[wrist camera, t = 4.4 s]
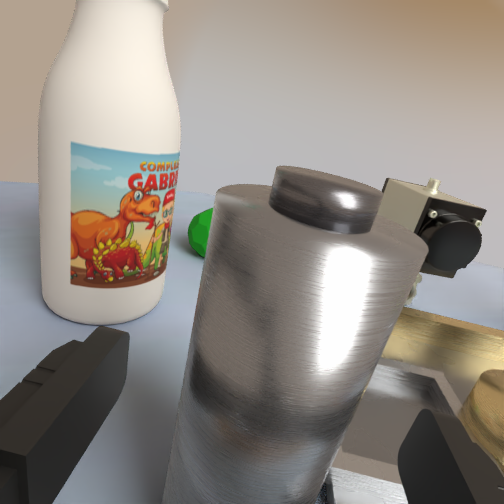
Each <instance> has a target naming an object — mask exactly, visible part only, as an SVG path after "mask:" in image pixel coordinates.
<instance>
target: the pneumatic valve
mask: <svg viewBox="0 0 504 504" xmlns="http://www.w3.org/2000/svg"><path fill="white" fill-rule="evenodd" d="M440 183H441V181H439V180H436V179H432V178H431V179H430V180H429V182H428V185H427V186H422V185H418V184H413V183H408V182H404V181H399V180H395V179H390V178H386V181H385V184H384V186H383V189H382V193H384V196H383V199H382V201H381V204H380V207H379V209H378V212H377V214H378V215H380V216H383V217H385V218H387V219H389V220H392V221H394V222H396V223H398V224H400V225H402V226H403V227H405V228H407V229H409V230H410V231H412V232H413V233H415V234H416V235H417V236H419V237H420V238H421V239H422V240H423V241H424V242H425V243H426V244H427V246H428V250H429V251H428V253H427V255H426V258H425V260H424V262H423V264H422V267H421V269H420V271H419V272H422V273H427V274H432V275H438V276H443V277H448V278H453V277H454V275H455V273H456V271H457V270H458V269H461V268H466V266H467V264H469V263H470V262H471V261H472V260H473V259H474V258H475V257H476V255H477V254H478V252H479V249H480V247H481V242H482V237H481V236H482V234H481V233H480V231H479V229H478V227H480V226H481V224H482V223H481V221H482V219H483V217H484V215H485V213H486V211H487V210H485V209H483V208H480V207H478V206H475V205H473V204H470V203H468V202H465V201H463V200H460V199H458V198H455V197H452V196H450V195H447V194H445V193H442V192H440V191H439V190H438V187H439V185H440ZM421 281H422V276H421V275H420V274H419V273H418V275H417V278H416V280H415V282H414V284H413V286H412V289H411V291H410V293H409V295H408V297H407V300H406V302H405V304H404V305H409V304H411V302H412V299H413V298H414V297H415V296H416V293H417V291H416V286H417V283H420V282H421Z"/></svg>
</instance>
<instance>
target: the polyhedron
mask: <svg viewBox="0 0 504 504" xmlns="http://www.w3.org/2000/svg"><path fill="white" fill-rule="evenodd" d="M212 214H213V208H211V209H208V210H206V211H204V212H202V213H199V214H197V215H196V216H194V217H193V219H192V221H191V223H190V225H189V228H188V237H189V243H190V245H191V246H192V248H193V249H194V250H195V251H196V252H197V253H198V254H199V255H201V256H202V257H204V258H205V254H206V248H207V242H208V237H209V231H210V225H211V219H212Z"/></svg>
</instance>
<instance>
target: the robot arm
mask: <svg viewBox="0 0 504 504" xmlns="http://www.w3.org/2000/svg"><path fill="white" fill-rule="evenodd" d="M129 340H130V336H129V333H128V332H124V331H120V330H116V329H112V328H108V327H104V326H99V327H98V328H96V329H95V330H94V331H93V333H92V334H91V335H90V336H89V337H88V338H87V339H86V340H85V341H84V342H80V341H76V340H72V341H70V342H68V343H66V344H65V345H63V346H61V347H59V348H57V349H55V350H53V351H52V352H51V353H50V354H49V355H47V356H46V357H45V358H44V359H43V360H42V361H41V362H40V363H39V364H38V365H37V367H36V369H33V370H32V371H31V372H30V373H29V374H28V375H26V376H25V377H24V378H23V381H22V382H21V383H20V382H19V383H18V384H17V385H16V386H15V387H14V388H13V389H12V390H11V391H10V392H9V393H8V394H7V395H5V396H4V397H3V398H2V399H1V400H0V504H52V503H53V502H54V500H55V498H56V497H57V495H58V494H59V492H60V490H61V489H62V487H63V486H64V484H65V482H66V481H67V479H68V478H69V476H70V475H71V473H72V471H73V470H74V468H75V467H76V465H77V463H78V462H79V460H80V459H81V457H82V455H83V454H84V452H85V451H86V449H87V447H88V446H89V444H90V443H91V441H92V440H93V438H94V436H95V435H96V433H97V432H98V430H99V428H100V427H101V425H102V424H103V422H104V420H105V419H106V417H107V416H108V414H109V413H110V411H111V409H112V408H113V406H114V405H115V403H116V401H117V400H118V398H119V396H120V394H121V392H122V389H123V386H124V383H125V380H126V373H127V362H128V351H129ZM398 471H399V475H400V479H401V482H402V485H403V488H404V492H405V495H406V498H407V501H408V504H504V477H503V475H502V473H501V472H500V470H499V468H498V467H497V465H496V464H495V463H494V462H493V461H492V459H491V458H490V457H489V456H488V455H487V454H486V453H485V452H484V451H483V450H482V449H481V447H480V446H479V445H478V444H477V443H474V442H472V440H471V438H470V437H469V435H468V433H467V431H466V430H465V428H464V426H463V424H462V423H461V421H460V420H459V419H458V418H457V417H456V416H454V415H450V414H446V413H442V412H438V411H434V410H430V409H422V410H421V411H420V412H419V414H418V415H417V417H416V419H415V421H414V422H413V424H412V426H411V428H410V430H409V431H408V433H407V435H406V437H405V439H404V440H403V442H402V444H401V446H400V448H399V452H398Z"/></svg>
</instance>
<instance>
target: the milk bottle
mask: <svg viewBox="0 0 504 504" xmlns="http://www.w3.org/2000/svg"><path fill="white" fill-rule="evenodd" d="M168 10H169V6H168V0H76V6H75V10H74V14H73V18H72V21H71V25H70V27H69V30H68V33H67V36H66V38H65V40H64V42H63V45H62V47H61V49H60V51H59V53H58V55H57V57H56V58H55V60H54V62H53V64H52V66H51V68H50V71H49V73H48V75H47V78H46V81H45V84H44V87H43V91H42V95H41V100H40V109H39V124H38V173H39V174H38V175H39V176H38V177H39V221H40V255H41V283H42V295H43V298H44V301H45V302H46V304H47V305H48V307H49V308H50V309H51V310H52V311H53V312H54V313H55V314H57V315H59V316H61V317H63V318H65V319H68V320H71V321H74V322H79V323H84V324H94V325H107V324H117V323H124V322H127V321H131V320H135V319H137V318H139V317H142V316H144V315H145V314H147V313H148V312H150V311H151V310H152V309H153V308H154V307H155V306H156V305H157V304H158V302H159V301H160V299H161V297H162V293H163V287H164V281H165V273H166V266H167V258H168V250H169V242H170V235H171V227H172V219H173V211H174V202H175V194H176V185H177V176H178V168H179V156H180V143H181V126H180V115H179V108H178V103H177V100H176V95H175V91H174V88H173V84H172V81H171V77H170V74H169V69H168V65H167V61H166V55H165V49H164V41H163V30H162V26H163V16H164V13H165V12H167V11H168Z"/></svg>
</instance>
